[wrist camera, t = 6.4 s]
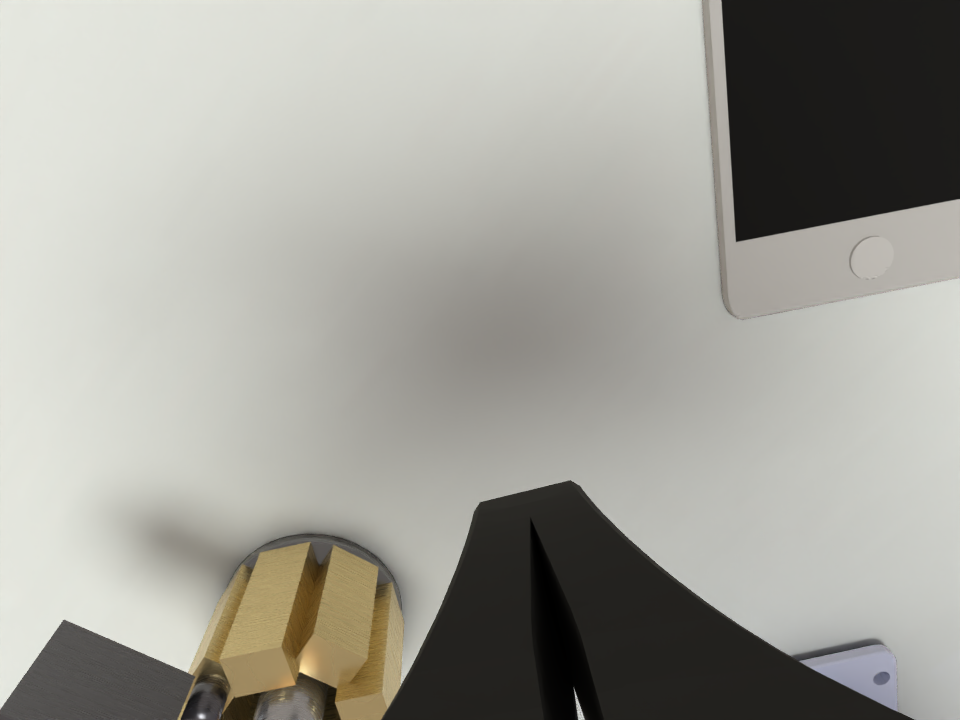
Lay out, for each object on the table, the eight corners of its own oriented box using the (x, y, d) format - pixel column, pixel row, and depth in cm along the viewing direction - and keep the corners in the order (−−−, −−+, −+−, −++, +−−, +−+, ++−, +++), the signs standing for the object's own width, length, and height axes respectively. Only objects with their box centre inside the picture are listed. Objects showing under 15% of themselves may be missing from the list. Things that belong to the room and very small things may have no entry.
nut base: (420, 657, 22) (415, 822, 17) (258, 693, 22) (206, 867, 17) (375, 517, 20) (355, 655, 15) (200, 556, 20) (123, 705, 15)
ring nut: (434, 594, 21) (433, 805, 15) (345, 715, 22) (309, 954, 16) (168, 461, 19) (39, 639, 13) (87, 601, 20) (-64, 823, 14)
